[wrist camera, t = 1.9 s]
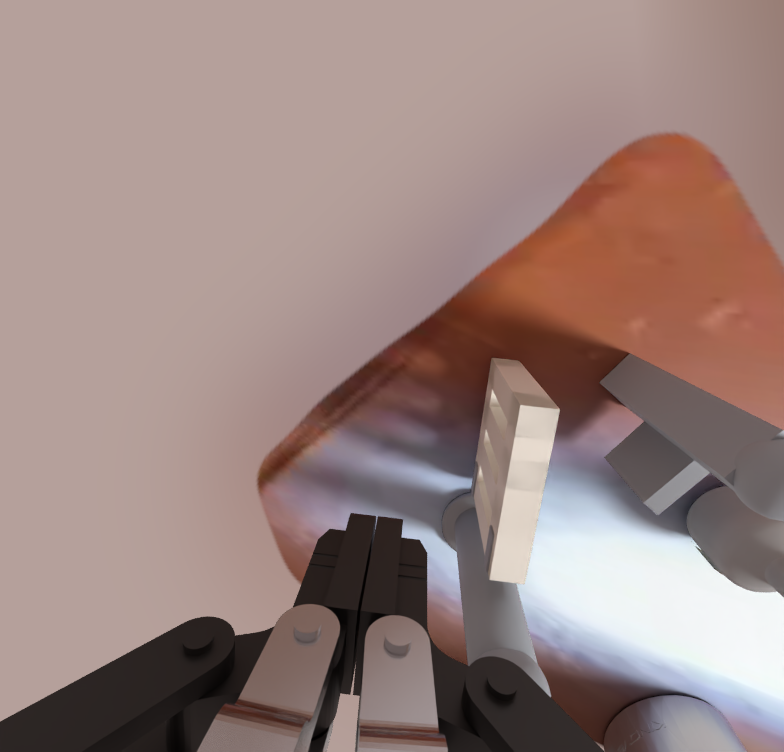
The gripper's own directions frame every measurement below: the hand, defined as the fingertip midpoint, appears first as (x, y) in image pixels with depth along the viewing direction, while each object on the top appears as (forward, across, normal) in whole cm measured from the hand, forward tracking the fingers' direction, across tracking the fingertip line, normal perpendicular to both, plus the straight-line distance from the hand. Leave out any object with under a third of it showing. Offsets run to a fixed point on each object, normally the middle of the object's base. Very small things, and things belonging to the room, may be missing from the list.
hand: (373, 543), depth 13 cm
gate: (+15, -6, +2) cm, 17 cm away
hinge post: (+16, -6, +9) cm, 19 cm away
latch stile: (+16, -13, 0) cm, 21 cm away
